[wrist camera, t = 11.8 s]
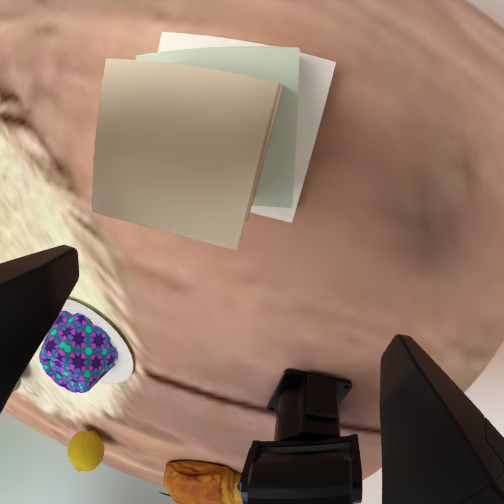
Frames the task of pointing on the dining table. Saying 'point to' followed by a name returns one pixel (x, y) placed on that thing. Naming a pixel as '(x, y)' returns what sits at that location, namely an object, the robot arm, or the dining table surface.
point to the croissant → (201, 483)
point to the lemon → (86, 450)
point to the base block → (309, 105)
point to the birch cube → (181, 147)
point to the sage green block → (285, 126)
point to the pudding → (84, 351)
